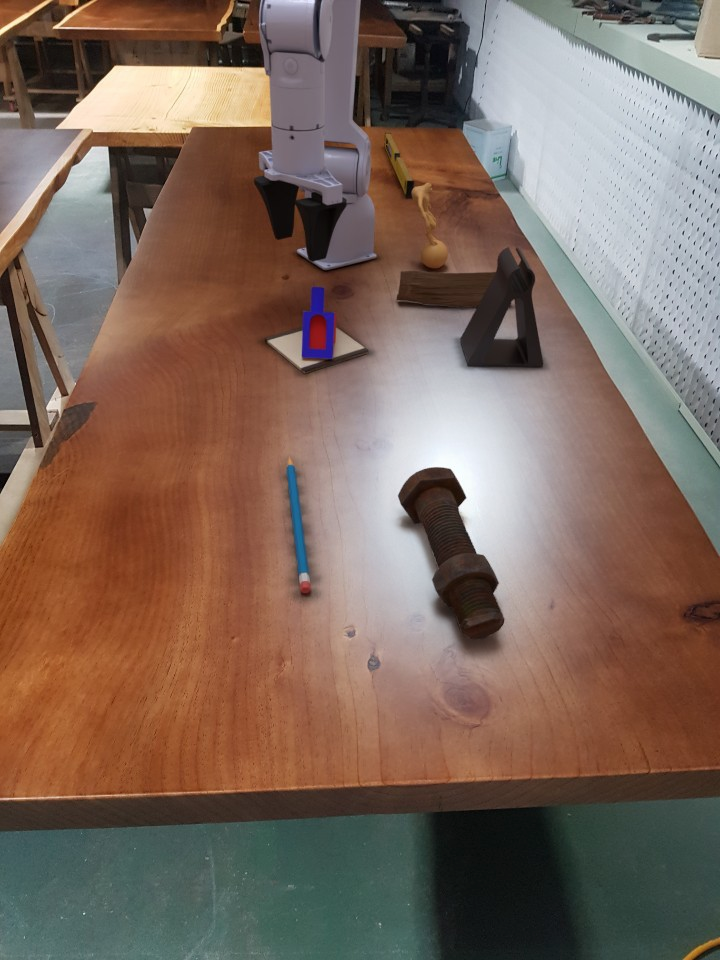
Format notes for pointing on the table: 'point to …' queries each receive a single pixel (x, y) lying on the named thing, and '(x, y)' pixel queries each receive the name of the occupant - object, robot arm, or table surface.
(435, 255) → the figurine
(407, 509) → the bolt
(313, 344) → the toy building block
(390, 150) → the spirit level
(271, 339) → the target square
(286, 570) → the table surface
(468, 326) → the phone stand
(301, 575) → the pencil
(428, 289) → the wood plank
